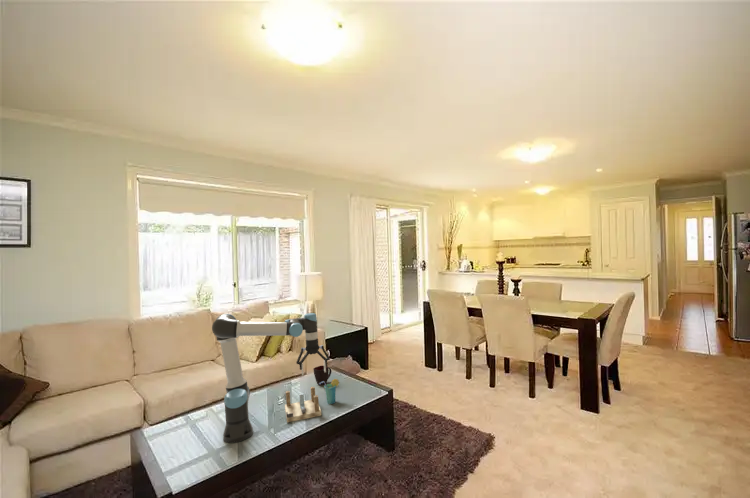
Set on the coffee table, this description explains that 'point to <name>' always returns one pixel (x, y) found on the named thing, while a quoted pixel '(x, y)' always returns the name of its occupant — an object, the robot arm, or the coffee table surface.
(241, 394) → the robot arm
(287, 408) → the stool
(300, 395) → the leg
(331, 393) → the cup
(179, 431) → the coffee table surface
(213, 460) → the coffee table surface
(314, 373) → the mug
